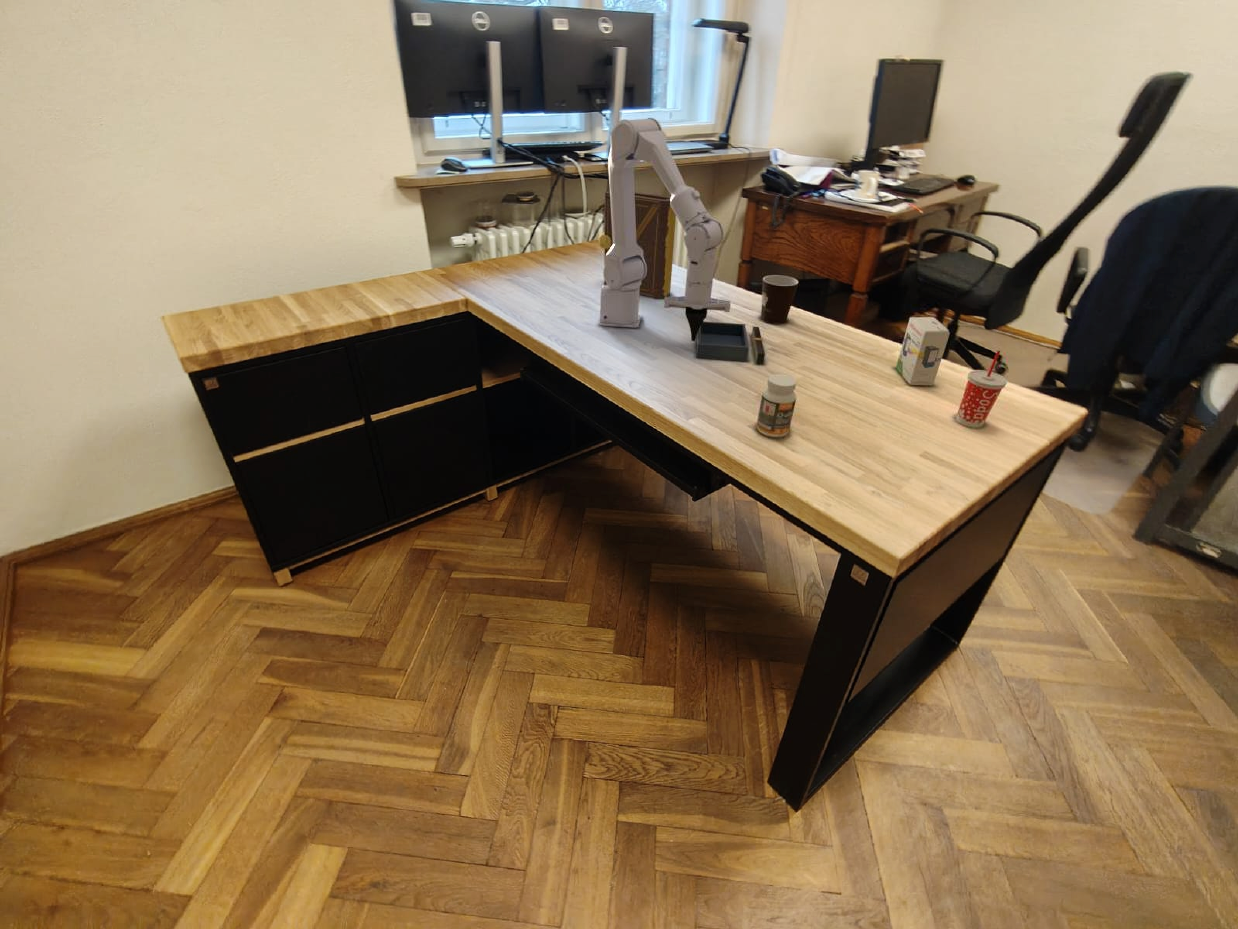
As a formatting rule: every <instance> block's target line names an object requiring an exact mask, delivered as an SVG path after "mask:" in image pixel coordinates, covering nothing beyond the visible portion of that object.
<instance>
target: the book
mask: <svg viewBox="0 0 1238 929" xmlns="http://www.w3.org/2000/svg"><path fill="white" fill-rule="evenodd" d="M634 192H635V219H636V243H637V245H638V246H639V247H640V248H641V249H642V250H643V256H644V260H645V263H646V266H647V273H646V276H645V278H644V279H643V280H641V285H640V289H639V296H644V297H648V298H653V299H659V300H661V299H662V300H663V299H665V297H670V296H671V289H672V272H673V260H674V259H673V258H674V257H673V256H674V246H675V231H676V218H677V216H676V215H675V213H674V211H673V209H672V207H671V206H670V201H671V196H670V195H661V194H654V193H646V192H641V191H640V192H639V191H634ZM598 245H599V247H600V248H602V249H604V250H603V251H604V253H603V254H604V255H603V256H604V260H603V261H604V262H603V264H604V266H605V255H606V254H607V252H608V251H609V250H610V248H611V247H612V245H613V237H612V219H611V201H610V191H604V231H602V232H601V233H600V234H599V236H598ZM604 266H603V267H604ZM603 285H607V283H606V282H605V279H604V278H603Z"/></svg>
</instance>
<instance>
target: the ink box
mask: <svg viewBox="0 0 1238 929" xmlns="http://www.w3.org/2000/svg"><path fill="white" fill-rule="evenodd" d="M905 330H906V331H905V334H904V337H903V340H902V344H901V348H900V350H899V351H900V352H899V355H898V359H897V362H896V366H895V370H897V372H898V373H899V374H900V375H901V376H902V377H903V378H904V380H905V381H906V382H907V383H908V384H909V385H910V386H934V384H935V381H936V378H937V375H938V372H939V369H940V366H941V365H940V364H941V362H942V359H943V355H944V352H945V350H946V346H947V344H948V340H949V337H950V333H951V332H950V330H949V329H948V328H947V327H946V326H944V324H942V323H941V322H940V321H939V320H938V319H937V318H935V317H934V316H925V317H923V316H922V317H918V316H917V317H915V316H914V317H913V316H912V317H909V320H908V323H907V327H906V329H905Z"/></svg>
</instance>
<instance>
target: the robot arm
mask: <svg viewBox="0 0 1238 929" xmlns="http://www.w3.org/2000/svg"><path fill="white" fill-rule="evenodd" d="M609 138H610V149H609V154H608V160H607V161H608V162H607V164H608V180H609V183H608V184H609V192H610V201H611V219H612V237H613V245H612V247H611V248H610V250H609V251H608V252H607V254H606V255H605V266H603V270H602V271H603V272H602V273H603V275H602V276H603V280H604V279H605V282H606V283H607V285H604V284H602V286H601V289H600V306H599V307H600V311H599V315H600V316H599V317H600V320H599V322H600V323H599V325H600V326H602V327H603V326H604V327H620V328H634V329H638V328H639V326H640V322H641V319H642V315H641V314H639V311H640V295H639V289H640V285H641V280H643V279H644V278H645V276H646V273H647V266H646V263H645V260H644V256H643V250H642V249H641V248H640V247H639V246H638V245H637V243H636V219H635V192H636V191H635V168H636V167H637V165H638V164H639V163H640V162H641V161H642V162H646V163H649V164H651V166H652V168H653V169H654V171H655V173H656V174H657V175H658V177H659V178H660V180H661V181H662V184H664V186H665V188H666V190H667V191H668V192H669V194H670V197H671V201H670V206H671V207H672V209H673V211H674V213H675V215H676V218H677V220H678V222H679V223H680V226H681V227H682V229H683V231H684V232H685V235H684V236H683V242H684V245H685V248H686V250H687V253H686V254H687V255H686V257H687V268H686V279H685V280H686V281H685V290H684V295H681V296H668V297H665V298H663V300H664V301H663V308H664V309H669V308H675V309H685V311H684V314H685V317H686V320H687V323H688V326H689V331H690V337H691V338H690V340H691V342H696V340H697V333H698V330H699V328H700V326H701V324H702V323H703V321H705V320H706V319H707V316H708V311H720V312H721V311H722V312H725V313H730V312H731V300H724V299H720V298H719V299H718V298H714V297H712V291H713V283H714V282H713V281H714V272H715V264H716V257H717V247H719V246H720V245H721V243H722V242H723V239H724V230H723V226H722V223H721V222H720V221H719V220H717V219H716V218H713V217H712V216H711V214H710V213H708V210H707V209H706V207H705V206H704V204H703V201H702V200H701V198H700V197H701V194H700V192H699V190H696V189H695V188H694V187H692V186H688V185H687V184H686V183H685V181H684V178H683V176H682V175H681V172H680V170H679V168H678V166H677V164H676V162H675V159H674V157H673V154H672V153H671V151H670V149H669V146H668V143H667V140H668V139H667V134H666V133H665V131H664V130H663V128H662V125H661V123H660V122H659V120H657V119H656V118H654V117H647V118H640V119H639V118H638V119H637V118H636V119H621V120H619V121H617V123H616V124H615V125H614V127H613V128H612V129H611V131H609Z"/></svg>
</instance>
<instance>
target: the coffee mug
mask: <svg viewBox="0 0 1238 929" xmlns="http://www.w3.org/2000/svg"><path fill="white" fill-rule="evenodd" d="M798 285H799V280H798V279H796V278H794V277H791V276H788V275H779V274H771V275H766V276H764V277H763V278H762V290H761V310H760V320H761V321H762V322H764V323H768V324H773V325H782V324H785V323H786V322H787V321H788V316H789V314H790V311H791V307H792V305H793V301H794V298H795V294H796V292H797V288H798Z"/></svg>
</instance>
